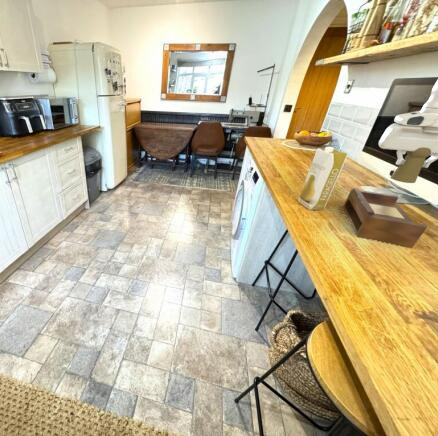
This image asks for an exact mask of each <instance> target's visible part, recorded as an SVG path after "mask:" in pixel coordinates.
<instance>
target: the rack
mask: <svg viewBox="0 0 438 436" xmlns="http://www.w3.org/2000/svg"><path fill="white" fill-rule="evenodd" d="M398 199H399V196H398V195H395V194H388V193H381V192H373V191H369V190H368V191H367V190H361V189H360V188H357V187H356V188H355V187H353V188H351V190H350V191H349V193H348V196H347V198H346V200H345V202H344V204H343V206H342V208H343V210H344V211H345V214H346V216H347V218H348V220H349V223H350V225H351V227H352V229H353V231H354V234H355V235H357V236H356V238H360V237H361V238H360V239H364V238H366V240H369V239H372V240H371V241H374V240H377V241H376V242H379V241H381V242H380V243H384V242H386V243H385V244H388V243H391V244H390V245H393V244H396V245H395V246H398V245H400V246H399V247H402V248H408V249H413V248H414V246H415V245H416V243H417V242H419V240H420V238H421V236H422V235H423V234H424V232H426V230H427V228H428V226H427V225H426V224H423V223H419V222H414V220H413V219H412V218H411V217H410V216H409V214H407V213H406V211H404V210H403V208H401V206H400V205H399V204H398V202H397V201H398Z"/></svg>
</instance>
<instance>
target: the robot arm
mask: <svg viewBox="0 0 438 436" xmlns="http://www.w3.org/2000/svg"><path fill="white" fill-rule="evenodd" d="M393 119H394V120H393V121H394V123H392V124H390V125H389V126H387V128H386V129H385V130H384V132H383V134H382V135H381V137H380V139H379V140H378V146H379V148H381V149H382V150H391V151H393V150H394V151H396V157H397V160H396V162H395V165H397V166H399V165H404V163H405V162H406V160H405V158H404V156H403V155H406V154H407V151H415V150H417V149H418V148H429V149H430V150H431V154H430V156H429V157H428V158H426V159H425V160H424V163H423V165H422V167H421V169H428V168H429V166H430V165H431V164H432V163H433V162H436V161H437V160H438V79H437V80H436V82H435V83H434V85H433V87H432V89H431V91H430V96H429V97H428V99H427V101H426V102H425V103H424V104H423V105H422V107H421V109H420V110H416V111H411V112H405V113H402V114H401V113H400V114H397V115H395V117H394V118H393Z"/></svg>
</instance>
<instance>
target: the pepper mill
mask: <svg viewBox="0 0 438 436" xmlns="http://www.w3.org/2000/svg"><path fill="white" fill-rule="evenodd" d="M406 154H407V155H405V158H404V159H405V160H406V162H405V163H404V165H398V167H397V168H396V169H395V170H394V172H393V173H392V175H390V176H389V177H390V179H392V180H393V181H396V182H399V183H400V182H401V183H406V184H416V182H417V180H418V177H419V175H420V172H421V170H422V165H423V163H424V161H426V159H427V158H429V157H430V156H431V150H430V149H429V148H418V149H417V150H415V151H406Z"/></svg>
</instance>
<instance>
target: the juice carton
mask: <svg viewBox="0 0 438 436" xmlns="http://www.w3.org/2000/svg"><path fill="white" fill-rule="evenodd" d="M348 157H349V153H348V152H344V151H340V150H337V149H335V147H332V146H326V147H321V148H319V147H318V148H317V149H316V151H315V153H314V156H313V159H312V162H311V164H310V167H309V170H308V173H307V176H306V178H305V180H304V184H303V186H302V188H301V191H300V193H299V197H298V201H297V202H298V203H299V204H300V205H302V206H303V207H305V208H306V209H307V210H309V211H319V210H320V211H321V210H324V209H325V208H326V206H327V205H328V202H329V200H330V198H331V196H332V194H333V191H334V189H335V187H336V184H337V182H338V179H339V177H340V175H341V172H342V170H343V168H344V166H345V164H346V161H347V160H348V159H347V158H348ZM344 163H345V164H344Z"/></svg>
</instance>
